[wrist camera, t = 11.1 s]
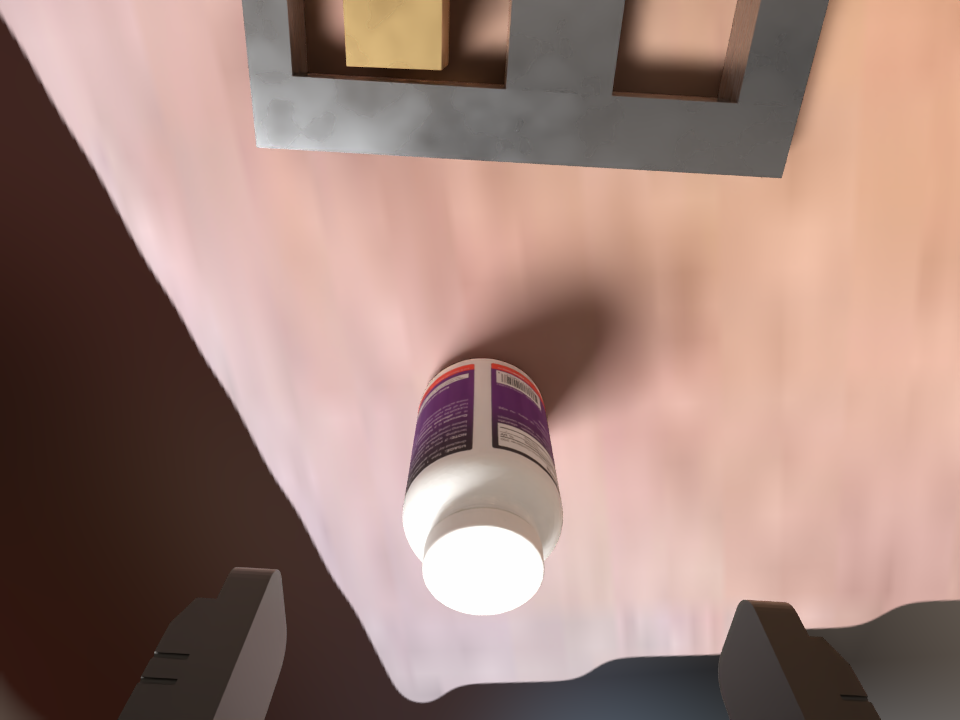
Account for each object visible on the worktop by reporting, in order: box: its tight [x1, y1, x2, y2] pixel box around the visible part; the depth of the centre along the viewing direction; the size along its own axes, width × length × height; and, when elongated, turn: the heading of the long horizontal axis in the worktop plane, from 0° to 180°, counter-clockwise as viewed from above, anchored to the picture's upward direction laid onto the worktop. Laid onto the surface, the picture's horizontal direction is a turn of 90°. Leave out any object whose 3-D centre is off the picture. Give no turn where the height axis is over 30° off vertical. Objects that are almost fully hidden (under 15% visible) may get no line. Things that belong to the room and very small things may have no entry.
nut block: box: [343, 0, 450, 70], centre depth 29 cm, size 4×4×6 cm
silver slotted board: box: [242, 0, 829, 178], centre depth 30 cm, size 26×12×3 cm, turn 87°
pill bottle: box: [403, 358, 563, 615], centre depth 35 cm, size 8×8×14 cm
